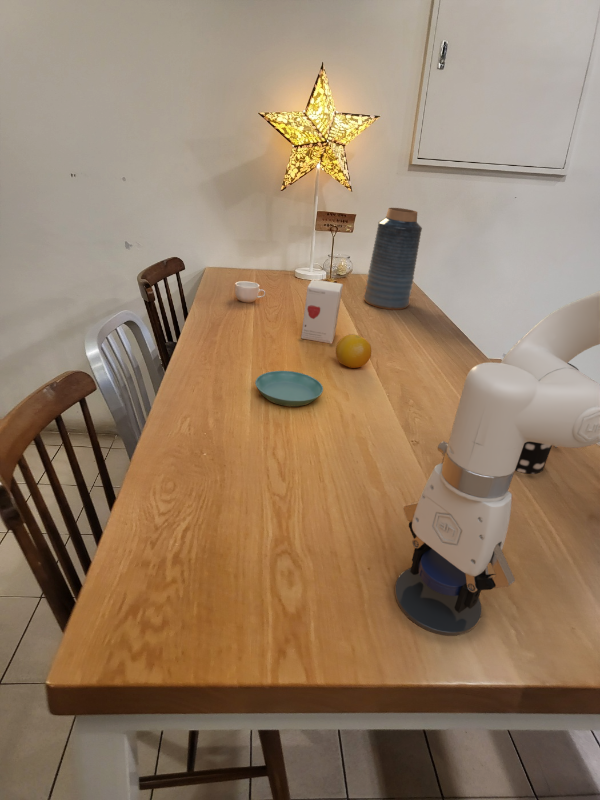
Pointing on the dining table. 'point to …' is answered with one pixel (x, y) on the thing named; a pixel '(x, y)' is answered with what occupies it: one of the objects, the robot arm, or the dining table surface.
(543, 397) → the robot arm
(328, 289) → the rectangular carton
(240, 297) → the teacup
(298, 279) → the dining table surface
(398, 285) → the vase
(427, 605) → the coaster
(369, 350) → the fruit
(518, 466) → the spotted tube
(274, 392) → the saucer
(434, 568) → the lid
